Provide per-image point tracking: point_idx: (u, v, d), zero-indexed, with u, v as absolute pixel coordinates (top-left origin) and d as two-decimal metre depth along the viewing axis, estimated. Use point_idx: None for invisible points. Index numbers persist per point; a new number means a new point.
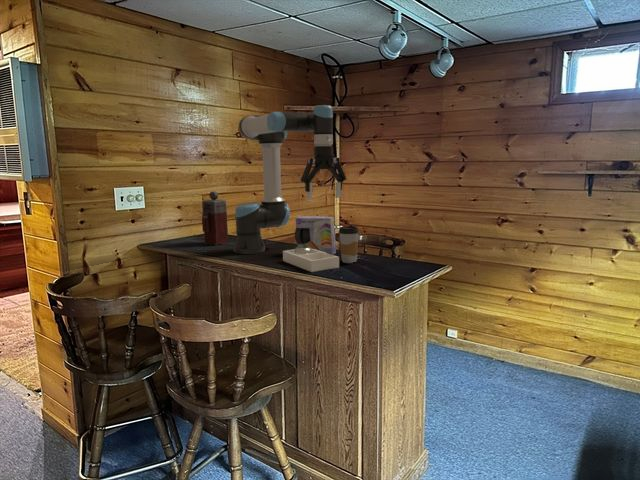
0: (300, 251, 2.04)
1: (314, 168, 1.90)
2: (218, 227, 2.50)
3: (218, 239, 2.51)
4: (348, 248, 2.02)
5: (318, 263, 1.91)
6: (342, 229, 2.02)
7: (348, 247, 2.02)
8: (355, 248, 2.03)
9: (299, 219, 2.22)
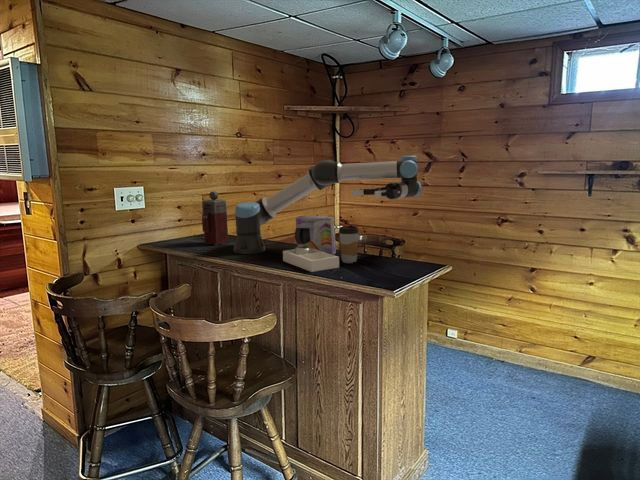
0: (300, 251, 2.04)
1: (389, 191, 2.12)
2: (218, 227, 2.50)
3: (218, 239, 2.51)
4: (348, 248, 2.02)
5: (318, 263, 1.91)
6: (342, 229, 2.02)
7: (348, 247, 2.02)
8: (355, 248, 2.03)
9: (299, 219, 2.22)
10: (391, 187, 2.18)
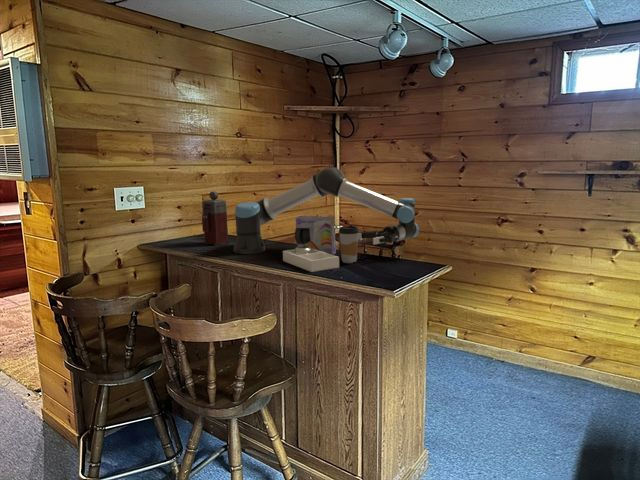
0: (300, 251, 2.04)
1: None
2: (218, 227, 2.50)
3: (218, 239, 2.51)
4: (348, 248, 2.02)
5: (318, 263, 1.91)
6: (342, 229, 2.02)
7: (348, 247, 2.02)
8: (355, 248, 2.03)
9: (299, 219, 2.22)
10: (389, 231, 2.20)
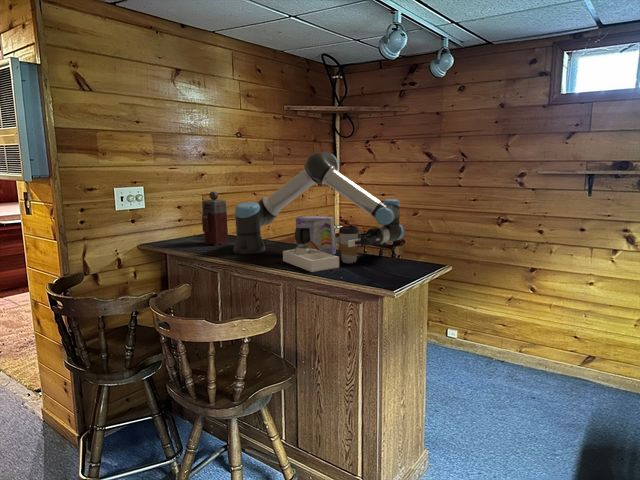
0: (300, 251, 2.04)
1: (368, 238, 2.08)
2: (218, 227, 2.50)
3: (218, 239, 2.51)
4: (348, 248, 2.02)
5: (318, 263, 1.91)
6: (342, 229, 2.02)
7: (348, 247, 2.02)
8: (355, 248, 2.03)
9: (299, 219, 2.22)
10: (372, 233, 2.13)
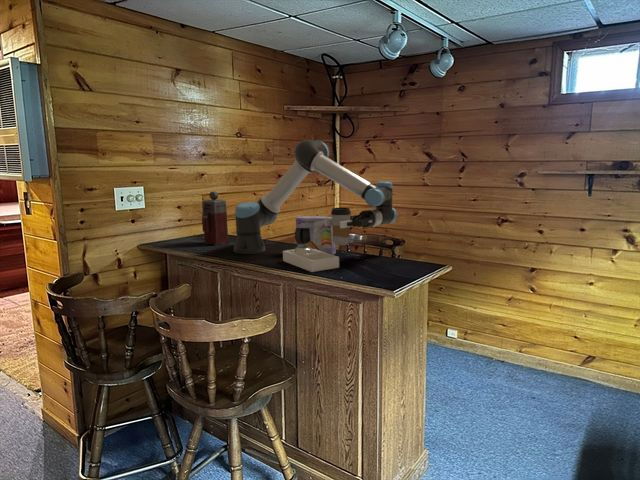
0: (300, 251, 2.04)
1: None
2: (218, 227, 2.50)
3: (218, 239, 2.51)
4: (340, 230, 1.97)
5: (318, 263, 1.91)
6: (334, 210, 1.97)
7: (340, 228, 1.97)
8: (347, 229, 1.99)
9: (299, 219, 2.22)
10: (365, 215, 2.09)
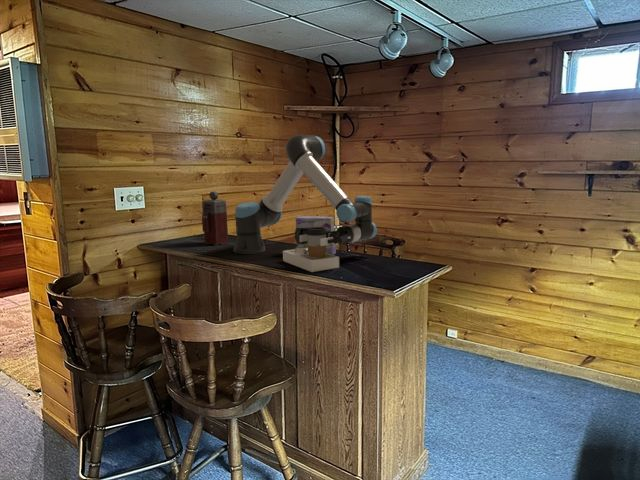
0: (300, 251, 2.04)
1: (339, 236, 1.99)
2: (218, 227, 2.50)
3: (218, 239, 2.51)
4: (316, 250, 1.94)
5: (318, 263, 1.91)
6: (309, 230, 1.94)
7: (315, 249, 1.94)
8: (323, 250, 1.95)
9: (299, 219, 2.22)
10: (342, 231, 2.05)
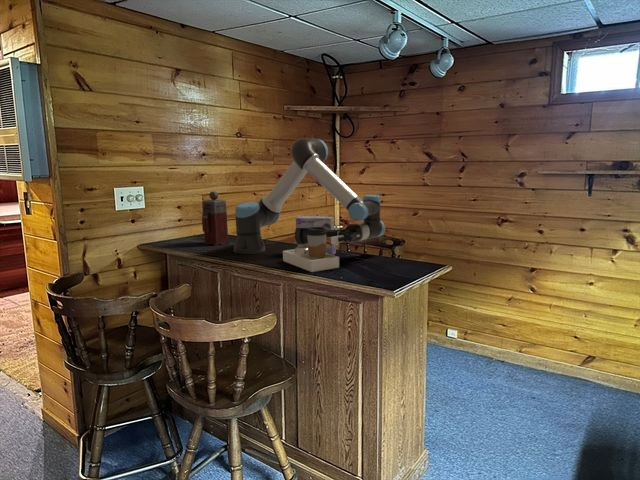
0: (300, 251, 2.04)
1: (348, 235, 2.02)
2: (218, 227, 2.50)
3: (218, 239, 2.51)
4: (316, 251, 1.94)
5: (318, 263, 1.91)
6: (309, 230, 1.93)
7: (315, 249, 1.93)
8: (323, 250, 1.95)
9: (299, 219, 2.22)
10: (351, 229, 2.07)
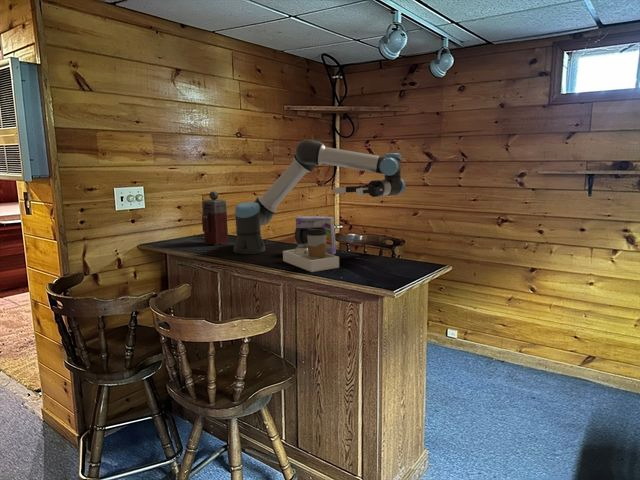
0: (300, 251, 2.04)
1: (372, 189, 2.09)
2: (218, 227, 2.50)
3: (218, 239, 2.51)
4: (316, 251, 1.94)
5: (318, 263, 1.91)
6: (309, 230, 1.94)
7: (315, 249, 1.94)
8: (323, 250, 1.95)
9: (299, 219, 2.22)
10: (374, 185, 2.15)
